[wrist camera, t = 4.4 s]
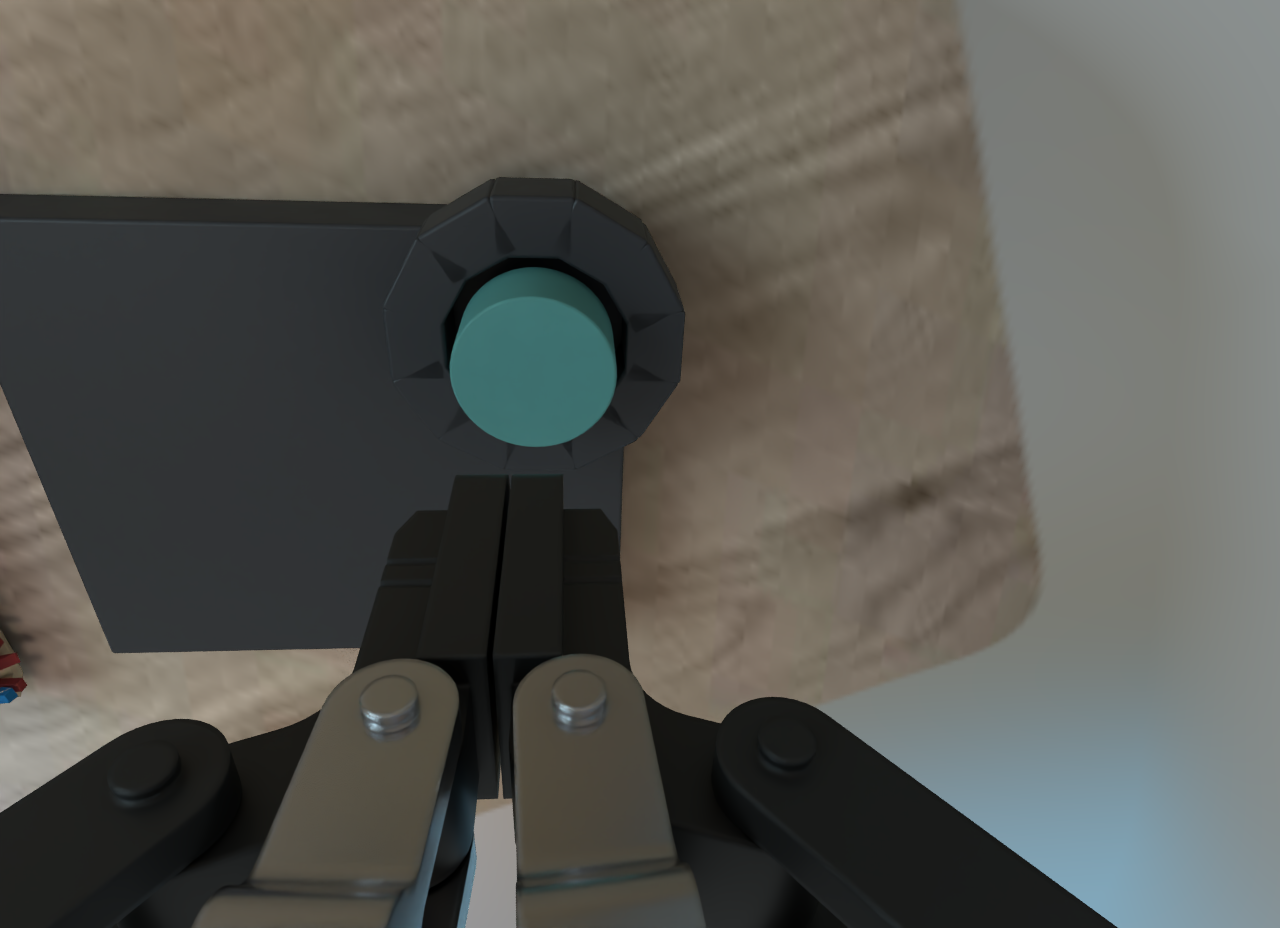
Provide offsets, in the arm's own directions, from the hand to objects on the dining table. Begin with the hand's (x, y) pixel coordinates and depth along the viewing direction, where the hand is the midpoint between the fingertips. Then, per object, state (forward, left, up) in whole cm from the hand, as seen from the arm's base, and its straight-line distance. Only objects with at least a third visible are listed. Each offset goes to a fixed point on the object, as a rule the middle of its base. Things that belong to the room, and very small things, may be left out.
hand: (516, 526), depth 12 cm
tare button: (0, 0, -6) cm, 6 cm away
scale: (+5, +4, -10) cm, 11 cm away
